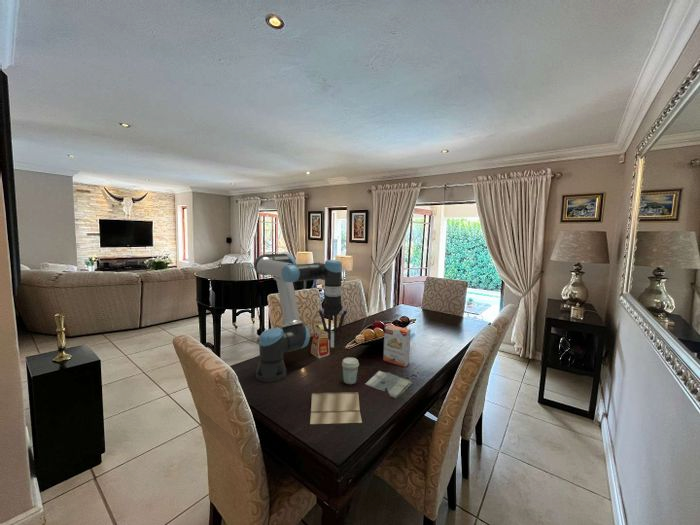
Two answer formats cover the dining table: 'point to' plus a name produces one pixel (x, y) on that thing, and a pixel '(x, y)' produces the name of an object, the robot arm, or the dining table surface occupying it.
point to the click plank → (335, 401)
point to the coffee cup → (350, 370)
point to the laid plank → (335, 417)
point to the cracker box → (396, 345)
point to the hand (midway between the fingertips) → (332, 346)
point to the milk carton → (320, 342)
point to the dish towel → (389, 383)
